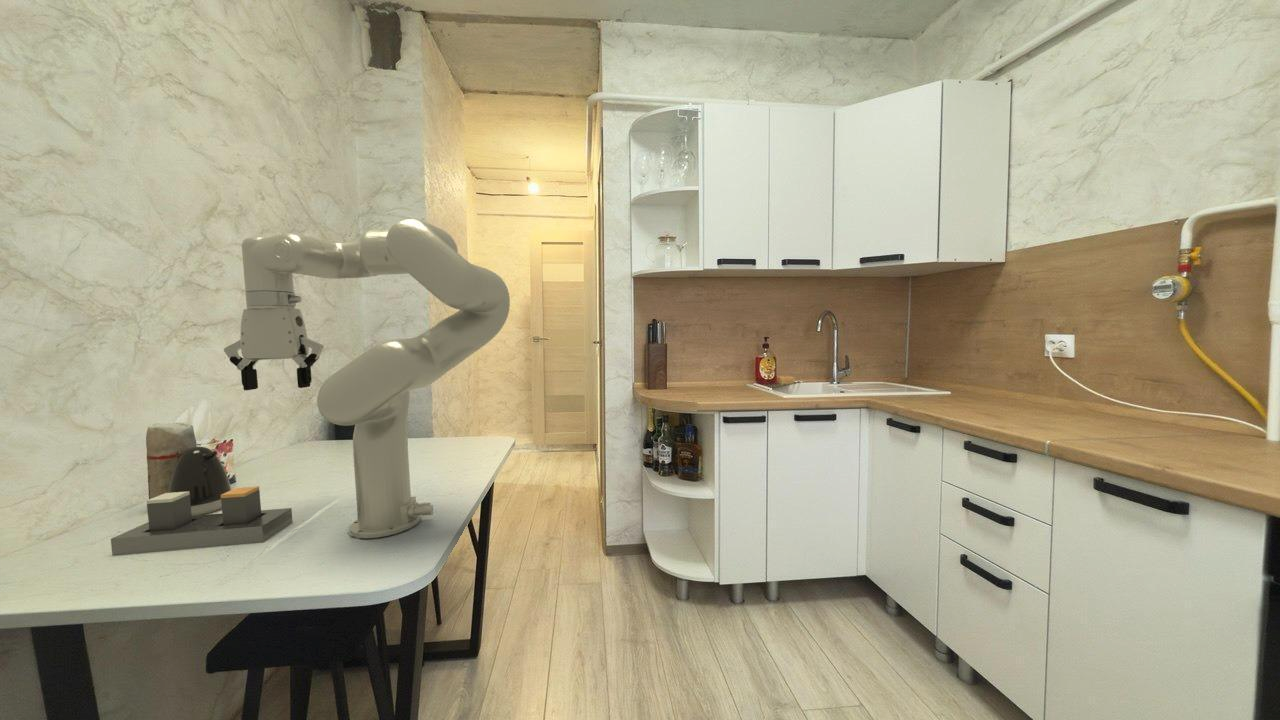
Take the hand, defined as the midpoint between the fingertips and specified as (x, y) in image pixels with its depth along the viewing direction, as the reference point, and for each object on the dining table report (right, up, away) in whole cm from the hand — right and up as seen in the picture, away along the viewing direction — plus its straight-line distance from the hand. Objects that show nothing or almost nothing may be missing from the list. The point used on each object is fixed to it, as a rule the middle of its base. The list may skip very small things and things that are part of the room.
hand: (277, 388), depth 93 cm
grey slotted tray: (-9, -29, -5) cm, 31 cm away
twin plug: (-15, -28, -6) cm, 33 cm away
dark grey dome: (-25, -29, +10) cm, 39 cm away
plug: (-3, -28, -4) cm, 28 cm away
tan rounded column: (-34, -29, +14) cm, 47 cm away
